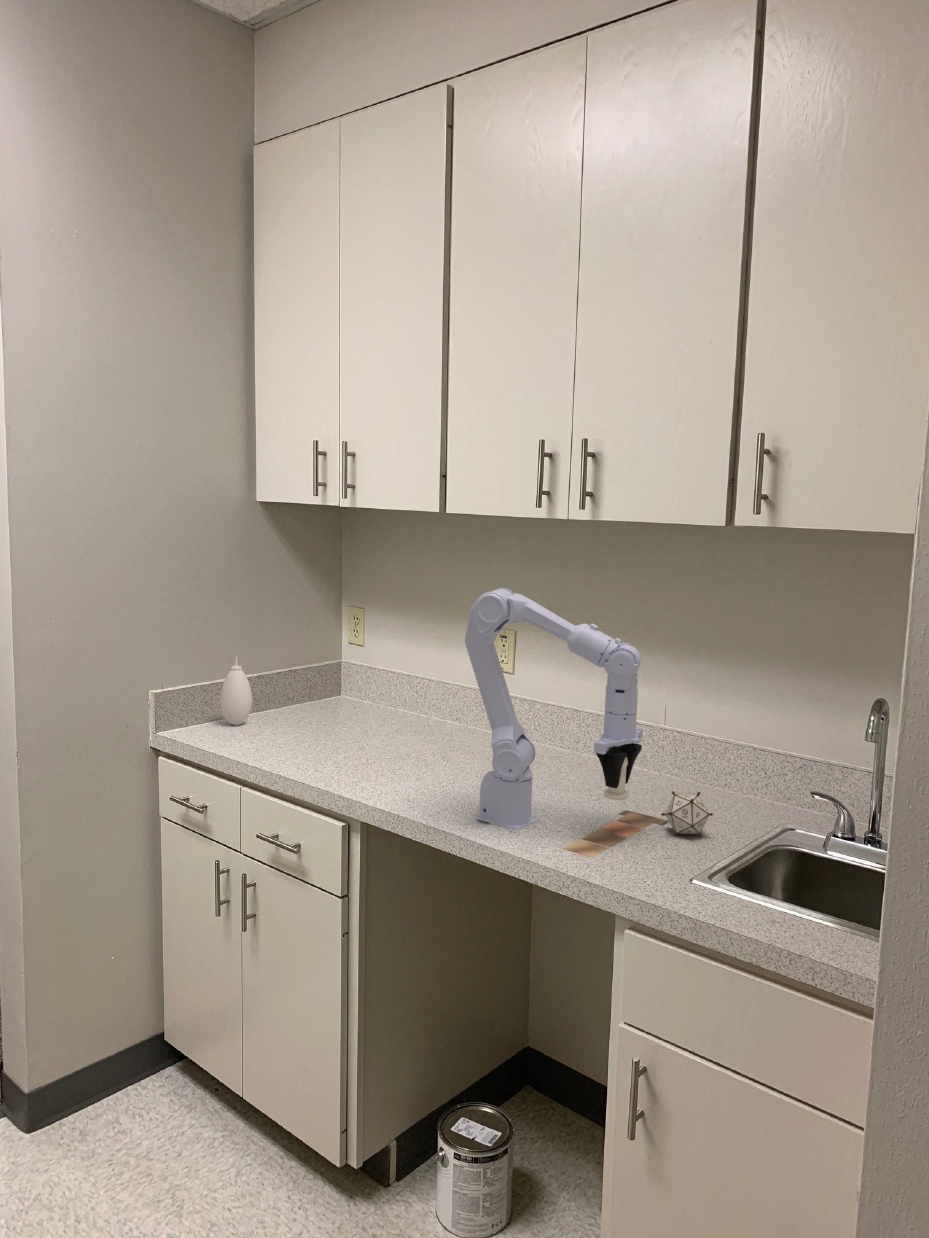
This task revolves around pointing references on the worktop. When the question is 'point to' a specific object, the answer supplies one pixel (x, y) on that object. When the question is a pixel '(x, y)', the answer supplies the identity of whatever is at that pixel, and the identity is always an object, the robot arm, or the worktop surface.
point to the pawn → (619, 786)
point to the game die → (687, 814)
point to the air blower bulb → (236, 696)
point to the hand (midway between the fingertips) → (616, 784)
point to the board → (612, 839)
